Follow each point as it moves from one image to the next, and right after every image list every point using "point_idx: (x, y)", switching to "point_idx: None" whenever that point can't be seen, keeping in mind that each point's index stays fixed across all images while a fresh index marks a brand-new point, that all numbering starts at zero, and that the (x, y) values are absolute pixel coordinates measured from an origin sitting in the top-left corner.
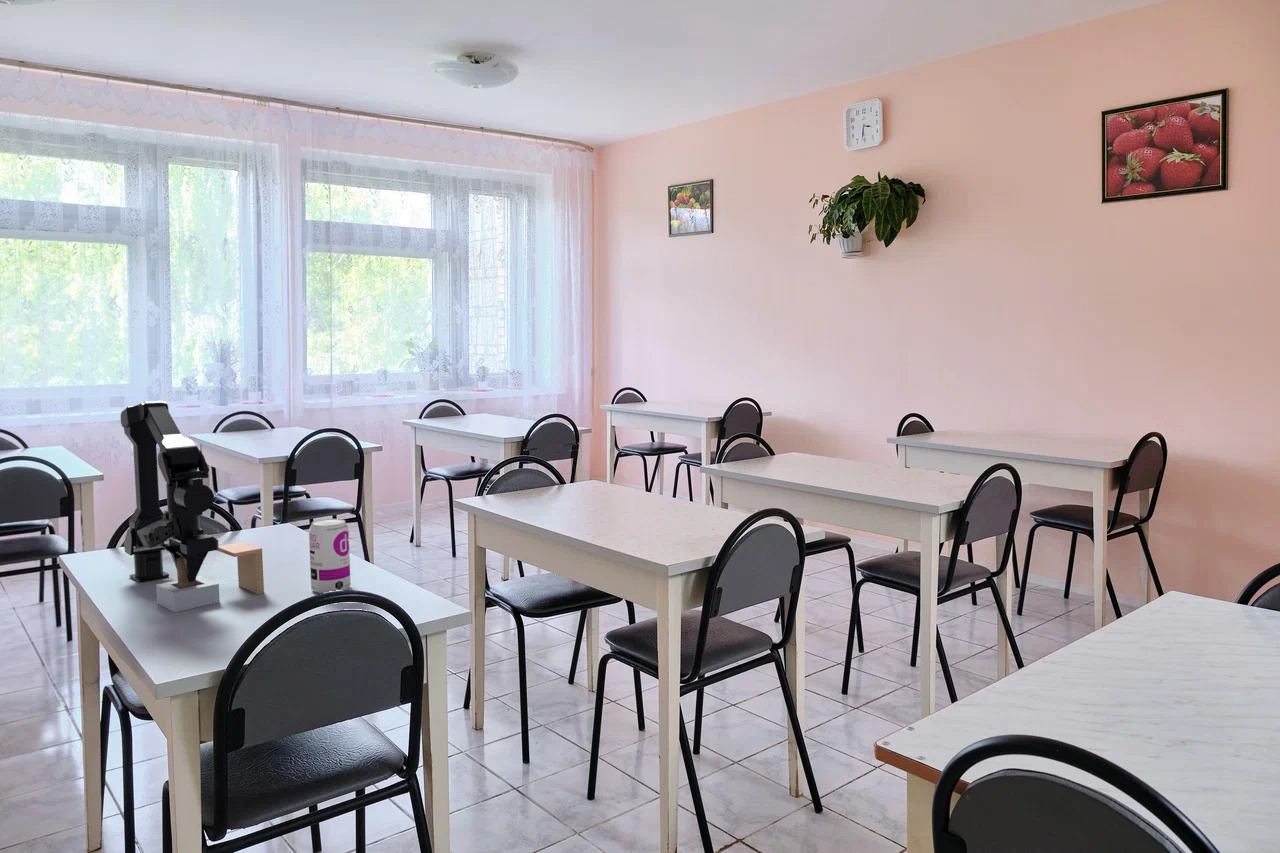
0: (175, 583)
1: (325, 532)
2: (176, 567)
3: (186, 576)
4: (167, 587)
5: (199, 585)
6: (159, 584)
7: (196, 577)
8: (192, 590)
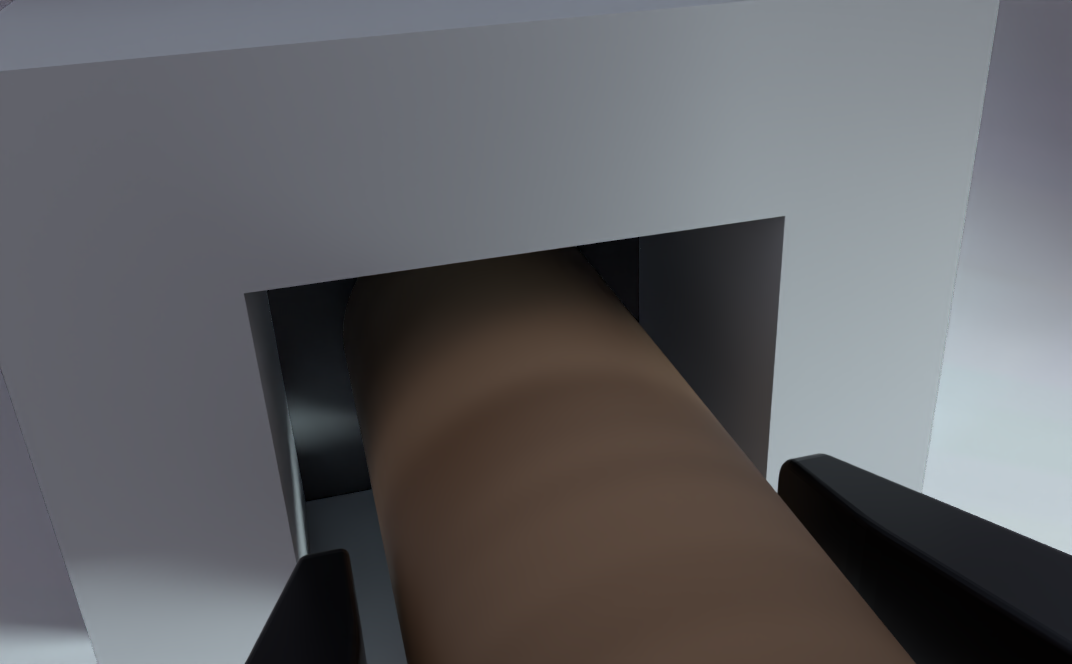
0: (780, 315)
1: None
2: (1006, 550)
3: (417, 594)
4: (580, 106)
5: None
6: (953, 37)
7: None
8: (52, 482)
